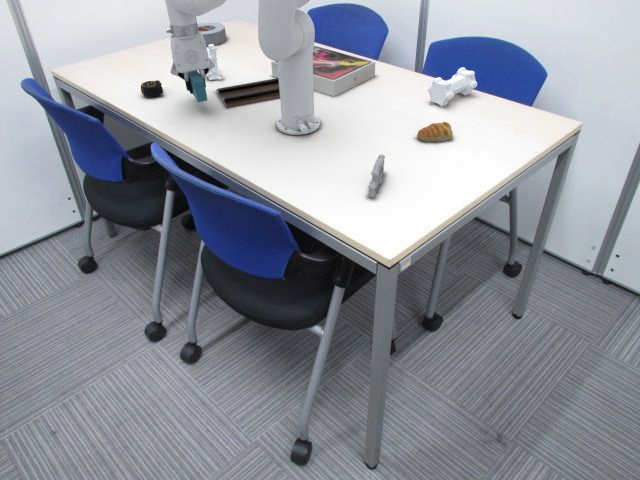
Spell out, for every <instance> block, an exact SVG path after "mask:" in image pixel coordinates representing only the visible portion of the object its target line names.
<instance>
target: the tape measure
mask: <svg viewBox="0 0 640 480" xmlns="http://www.w3.org/2000/svg"><path fill="white" fill-rule="evenodd" d="M140 93H141V94H142V95H143V96H144V97H150V98H153V97H157V96H161V95H163V94H164V88H163V86H162V82H161V81H160V80H159V79H157V80H147V81H144V82H142V83H141V84H140Z"/></svg>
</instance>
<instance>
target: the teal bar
mask: <svg viewBox="0 0 640 480" xmlns="http://www.w3.org/2000/svg"><path fill="white" fill-rule="evenodd" d="M188 77H189V79H190V81H191V85H192V90H193V94H192V95H193V97H194V99H195V100H196V102H197V103H203V102H208V95H207V90H206V87H205V83H206V82H205V83H204V80H203V79H202V77H201V76H200V73H199V70H196V71H190V72H188Z"/></svg>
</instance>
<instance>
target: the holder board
mask: <svg viewBox="0 0 640 480" xmlns="http://www.w3.org/2000/svg"><path fill="white" fill-rule="evenodd" d="M215 90H216V91H215V92H216V93H217V95H218V96H219V98H220V99H221V101H222V103H223V105H224V106H225V107H226V109H229V108H234V107H239V106H245V105H250V104H256V103H260V102H266V101H271V100H272V101H273V100H277V99H280V91H279V78H277V77H274V78H271V79H270V78H269V79H264V80H259V81H253V82H248V83H241V84H237V85H236V84H235V85H230V86H224V87H218V88H217V89H215Z"/></svg>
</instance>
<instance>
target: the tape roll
mask: <svg viewBox="0 0 640 480" xmlns="http://www.w3.org/2000/svg"><path fill="white" fill-rule="evenodd" d="M197 25H198V30H199V31H200V32H201V33H202V35H203V37H204V40H205V44H206V47H207V48H208V45H210V44H213V45H214V46H217V45H221V44H223V43H225V42H226V41H227V34H226V33H227V32H226V27H225V24H223V23H220V22H202V23H201V22H200V23H197Z"/></svg>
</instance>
